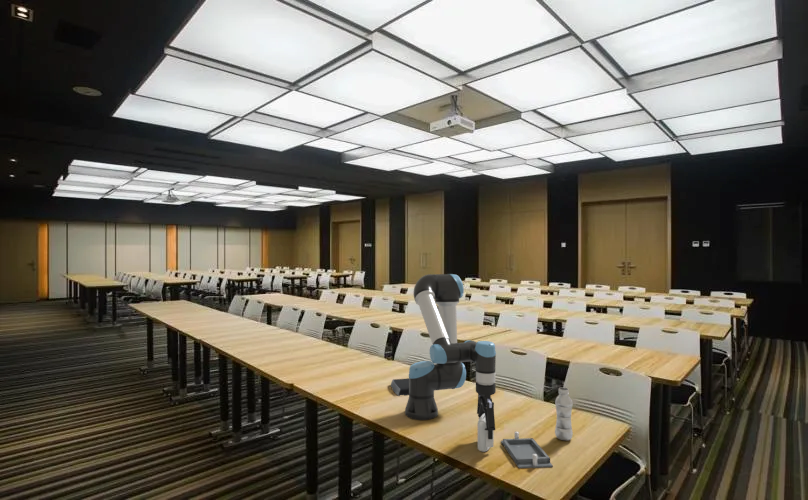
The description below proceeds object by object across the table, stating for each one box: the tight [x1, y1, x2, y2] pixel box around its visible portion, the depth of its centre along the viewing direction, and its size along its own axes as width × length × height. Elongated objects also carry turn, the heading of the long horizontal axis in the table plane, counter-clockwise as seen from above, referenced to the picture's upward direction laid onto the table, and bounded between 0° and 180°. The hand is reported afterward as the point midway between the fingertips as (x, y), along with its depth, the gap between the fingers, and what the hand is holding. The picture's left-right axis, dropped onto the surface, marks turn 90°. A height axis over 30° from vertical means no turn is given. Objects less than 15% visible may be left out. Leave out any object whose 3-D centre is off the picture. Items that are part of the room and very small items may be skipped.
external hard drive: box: [390, 377, 409, 397], centre depth 226 cm, size 13×19×4 cm
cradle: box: [500, 431, 553, 469], centre depth 152 cm, size 12×20×4 cm, turn 4°
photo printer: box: [477, 413, 495, 453], centre depth 158 cm, size 10×4×12 cm, turn 152°
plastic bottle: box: [554, 387, 574, 441], centre depth 165 cm, size 6×7×20 cm
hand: (485, 440), depth 158 cm, fingers closed on photo printer, 10 cm apart
